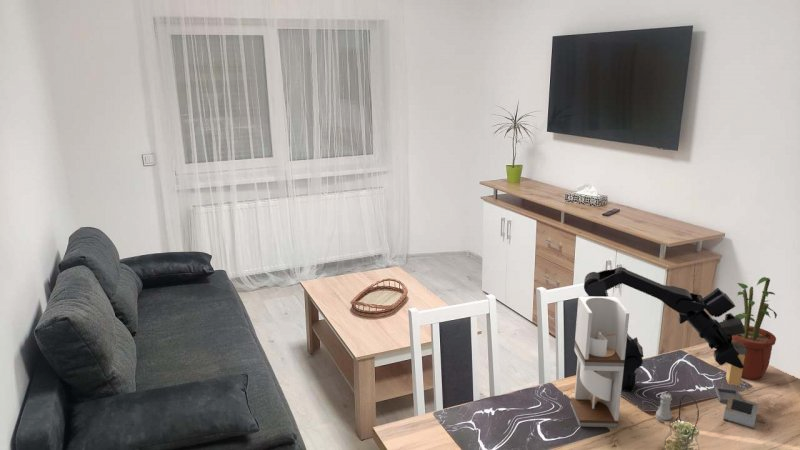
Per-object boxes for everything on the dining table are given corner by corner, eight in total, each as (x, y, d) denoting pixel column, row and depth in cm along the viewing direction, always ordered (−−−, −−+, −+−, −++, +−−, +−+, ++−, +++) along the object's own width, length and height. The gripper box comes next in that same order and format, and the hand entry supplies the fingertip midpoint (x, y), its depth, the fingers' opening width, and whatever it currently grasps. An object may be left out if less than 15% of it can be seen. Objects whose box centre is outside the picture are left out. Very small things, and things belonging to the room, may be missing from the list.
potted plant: (778, 383, 182) (797, 280, 173) (737, 389, 179) (754, 285, 170) (736, 357, 199) (752, 262, 189) (697, 362, 196) (711, 266, 186)
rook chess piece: (671, 416, 166) (674, 391, 164) (672, 425, 162) (676, 400, 160) (654, 413, 167) (657, 389, 165) (655, 422, 163) (658, 397, 161)
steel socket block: (723, 423, 162) (725, 409, 161) (727, 409, 169) (729, 395, 168) (753, 432, 158) (755, 418, 157) (756, 417, 165) (758, 404, 164)
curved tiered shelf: (570, 403, 173) (578, 296, 164) (605, 404, 172) (616, 296, 163) (579, 426, 162) (588, 312, 153) (617, 427, 161) (629, 313, 152)
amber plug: (728, 384, 169) (734, 347, 166) (725, 377, 173) (731, 341, 170) (740, 386, 168) (746, 349, 165) (737, 379, 172) (743, 343, 169)
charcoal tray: (719, 405, 171) (720, 399, 171) (714, 392, 178) (715, 387, 177) (741, 408, 169) (742, 402, 169) (736, 395, 176) (737, 390, 175)
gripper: (735, 322, 157) (774, 365, 157) (723, 297, 174) (758, 335, 174) (699, 344, 162) (738, 385, 161) (691, 318, 179) (725, 355, 178)
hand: (741, 364), depth 169 cm, fingers closed on amber plug, 4 cm apart
